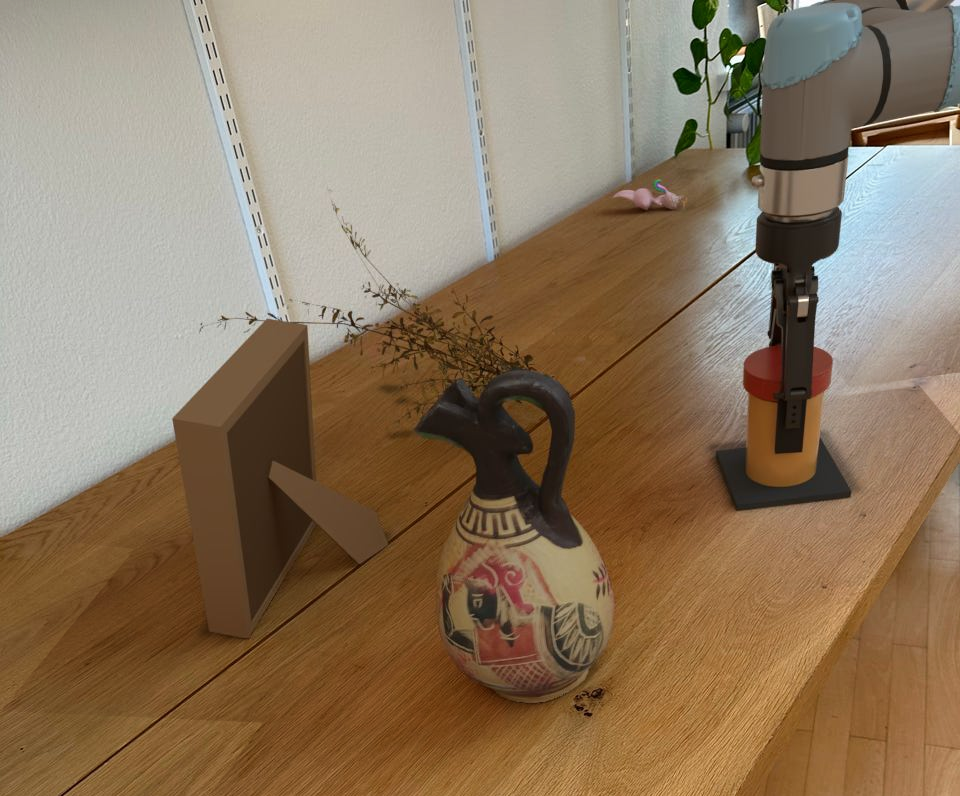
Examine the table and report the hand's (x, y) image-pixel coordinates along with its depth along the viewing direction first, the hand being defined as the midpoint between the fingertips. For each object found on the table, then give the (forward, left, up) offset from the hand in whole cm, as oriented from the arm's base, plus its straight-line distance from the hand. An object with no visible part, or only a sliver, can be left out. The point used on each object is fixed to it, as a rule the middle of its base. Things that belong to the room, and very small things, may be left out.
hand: (783, 429), depth 98 cm
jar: (0, 0, -5) cm, 5 cm away
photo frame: (+53, +9, -6) cm, 54 cm away
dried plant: (+43, -21, -6) cm, 48 cm away
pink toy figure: (+1, -107, -6) cm, 107 cm away
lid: (0, 0, +7) cm, 7 cm away
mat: (0, 0, -6) cm, 6 cm away
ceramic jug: (+28, +29, -6) cm, 41 cm away
